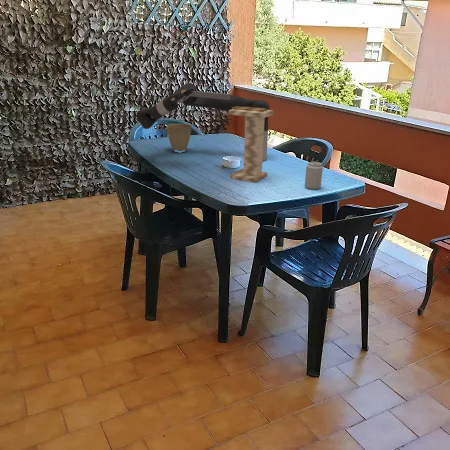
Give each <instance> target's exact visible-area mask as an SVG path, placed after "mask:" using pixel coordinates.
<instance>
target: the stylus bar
mask: <svg viewBox="0 0 450 450" xmlns="http://www.w3.org/2000/svg"><path fill="white" fill-rule="evenodd" d="M185 91H187V90H181V93H182V92H185ZM191 92H192V93H191V94H189V95H187V96H194V97H204V98H215V99H225V100H229V99H230V95H231V94H230V93H224V94H222V93H223V92H209V91H198V90H197V91H191Z"/></svg>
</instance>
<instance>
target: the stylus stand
mask: <svg viewBox="0 0 450 450" xmlns="http://www.w3.org/2000/svg"><path fill="white" fill-rule="evenodd" d="M274 111H275V110H272V109H270V110H267V109H264V108H252V107H240V106H236V107H232V110H229V111H228V116H229V115H230V116H231V115H232V116H242V117H245V119H244V139H243V140H244V141H243V142H244V143H243V144H244V145H243V168H241V169H239V170H237V171H235V172H233V173H230V175H229V179H230V180H234V179H235V180H236V181H242V182H249V183H255V184H257V183H258V182H260V181H262V180H263V179H265V178H267V177H268V171H263V161H262V159H263V140H264V120H265V117H268V118H269V117H271V116H274Z"/></svg>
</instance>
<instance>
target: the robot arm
mask: <svg viewBox="0 0 450 450" xmlns="http://www.w3.org/2000/svg"><path fill="white" fill-rule="evenodd" d="M181 90H187V91H185V92H182V93H181ZM191 91H198V89H197V86H196V85H195V84H194V83H191V82H190V83H185V84H183V85H182V86H180V87H179V88H178V89H176V91H174V92H173V93H172V94H170V95H168V96H166V97H164V98H163V99H161V100H160V101H158V103H156V104H154V105H152V106H151V107H147V108H142V109H139V110H137V112H136V114H135V115H136V116H135V117H136V119H137V120H138V121H139V123H140V125H141V127H142V128H143V129H145V130H149V129H151V128H152V127H153V126H154V125H155V124H156V123H157V121H159V120H160V119H161V118H163V117H164V116H166V115H168V114H170V113H173V112H174V111H175V110H177V109H179V104H182V105H183V104H184V105H186V106H188V107H189V106H190V107H199V108H200V107H202V108H208V109H214V110H219V111H225V112H229V110H232V107H236V106H240V107H252V108H264V109H267V110H271V106H270V104H269V102H267V101H266V100H264V99H250V98H244V97H241V96H237V95H233V94H230V99H229V100H225V99H215V98H204V97H194V96H187V95H189V94H191V93H192V92H191ZM221 93H222V94H225V93H223V92H221ZM268 137H269V116H268V117H265V120H264V140H263V159H262V162H265V161H267V157H268V155H267V154H268Z"/></svg>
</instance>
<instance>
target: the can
mask: <svg viewBox="0 0 450 450" xmlns="http://www.w3.org/2000/svg"><path fill="white" fill-rule="evenodd" d="M323 167H324V166H323V165H322V162H318V161H310V162H309V161H308V164H306V167H305V168H306V169H305V179H304V187H305V188H306V189H308V190H313V191H315V190H316V191H317V190H319V189H321V187H322V181H323V180H322V179H323V170H324V168H323Z"/></svg>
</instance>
